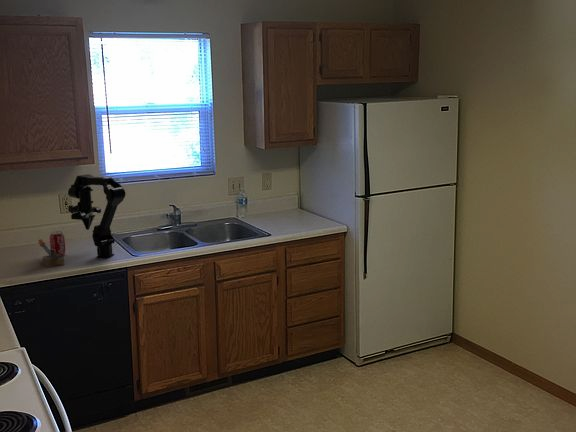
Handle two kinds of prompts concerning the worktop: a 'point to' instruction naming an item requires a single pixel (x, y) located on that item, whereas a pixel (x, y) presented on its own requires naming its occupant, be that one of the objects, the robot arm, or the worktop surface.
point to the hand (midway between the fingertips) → (87, 229)
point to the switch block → (53, 260)
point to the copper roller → (44, 247)
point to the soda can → (57, 242)
